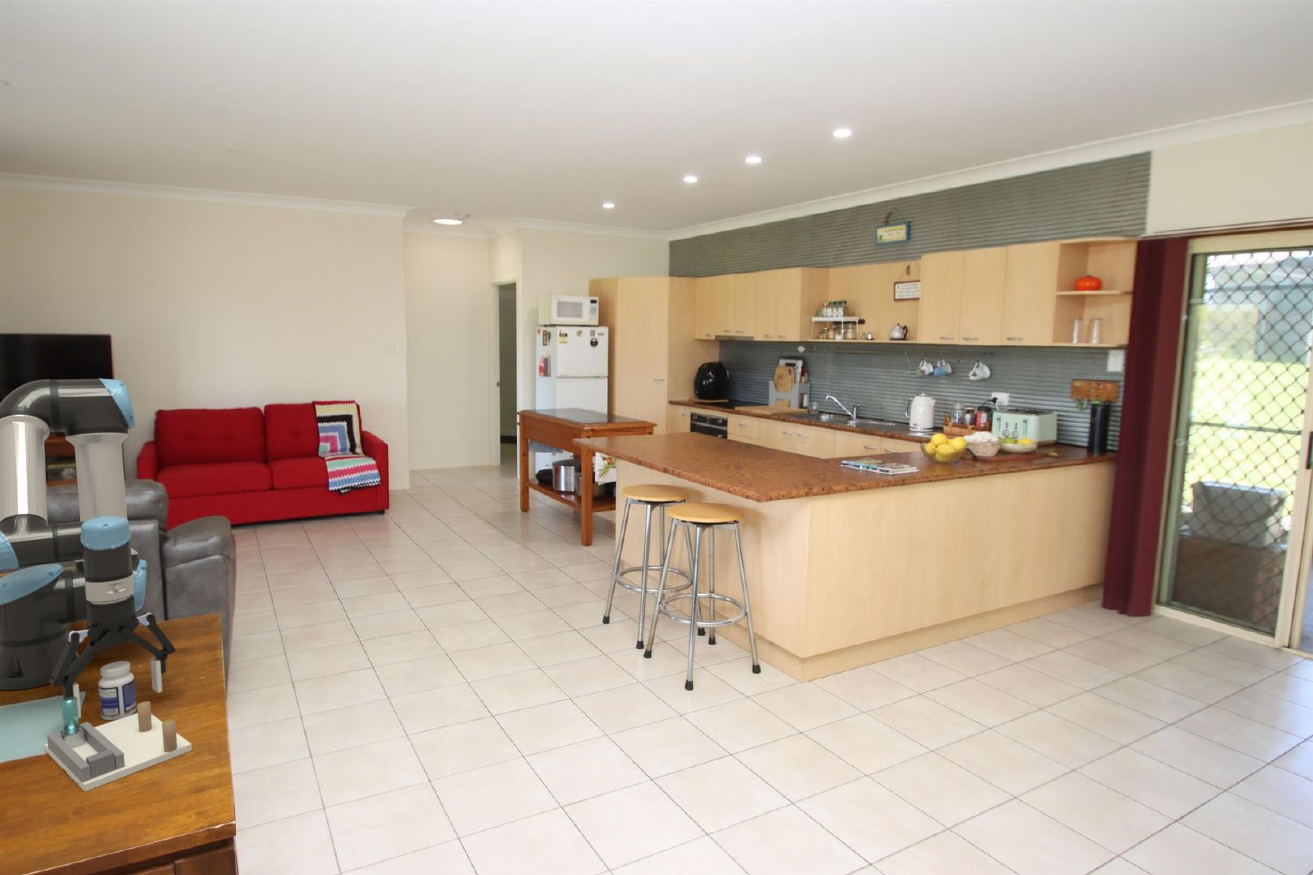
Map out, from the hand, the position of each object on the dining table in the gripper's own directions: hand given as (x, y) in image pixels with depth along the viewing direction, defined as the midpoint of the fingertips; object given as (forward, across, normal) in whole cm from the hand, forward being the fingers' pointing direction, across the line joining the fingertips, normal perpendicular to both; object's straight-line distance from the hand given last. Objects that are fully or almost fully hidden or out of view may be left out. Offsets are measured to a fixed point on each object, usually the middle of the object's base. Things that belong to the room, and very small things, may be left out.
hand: (118, 702), depth 147 cm
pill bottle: (+2, 0, 0) cm, 2 cm away
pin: (+1, -10, -9) cm, 13 cm away
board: (+2, -5, -15) cm, 16 cm away
